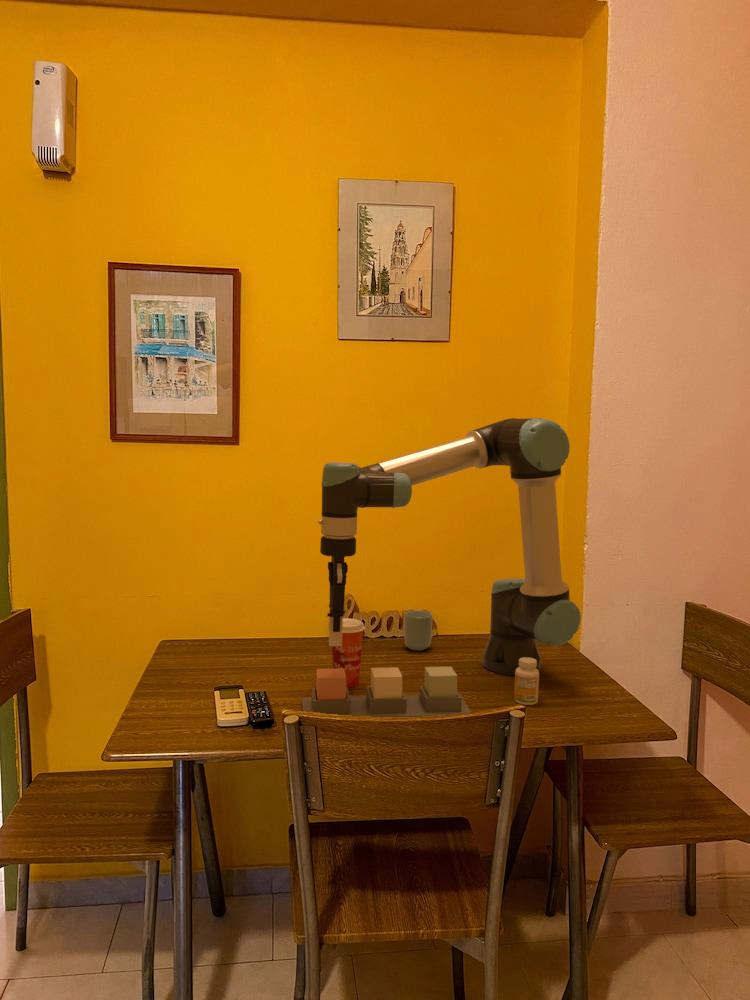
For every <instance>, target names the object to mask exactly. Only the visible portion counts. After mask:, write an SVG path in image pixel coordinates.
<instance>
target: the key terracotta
mask: <svg viewBox="0 0 750 1000" xmlns="http://www.w3.org/2000/svg"><path fill="white" fill-rule="evenodd" d="M315 686H316V687H315V688H316V693H317V700H339V699H346V674H345V670H344V668H339V669H333V668H316V685H315Z"/></svg>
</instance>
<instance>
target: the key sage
mask: <svg viewBox="0 0 750 1000" xmlns="http://www.w3.org/2000/svg"><path fill="white" fill-rule="evenodd" d="M423 686H424V690H425V691H426V693H427V695H428V697H457V691H458V674H457V673H456V671H455V670H454V669H453V667H452V666H424V681H423Z"/></svg>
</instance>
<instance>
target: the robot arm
mask: <svg viewBox="0 0 750 1000" xmlns="http://www.w3.org/2000/svg"><path fill="white" fill-rule="evenodd" d="M570 448H571V447H570V439H569V437H568V434H567V432H566V430H565V429H564V428H563V427H562V426H560V424H558V423H557V422H556V421H554V420H550V419H545V418H541V417H539V418H537V417H536V418H535V417H534V418H532V417H531V418H507V419H503V420H500V421H496V422H493V423H491V424H487V425H484V426H482V427H478V428H477V429H473V430H470V431H468V432H467V433H466V434H465V436H464V437H461V438H457V439H454V440H451V441H448V442H443V443H440V444H437V445H434V446H430V447H427V448H423V449H419V450H416V451H413V452H409V453H406V454H403V455H400V456H399V455H398V456H396V457H393V458H390V459H386V460H384V461H380V462H376V463H374V464H370V465H366V466H363V467H360V466H359V465H358V464H357V463H354V462H327V463H325V464H324V466H323V468H322V469H323V470H322V475H321V476H322V477H321V517H320V518H321V519H319V520H318V521H317V524H318V525H321V526H320V533H321V535H322V536H321V537H320V546H319V547H320V548H319V550H320V551H319V552H320V554H321V555H323V556H325V557H331V561H327V569H328V583H329V604H328V608H329V612H327V616H326V617H329V624H328V626H329V627H328V646H329V647H332V646H342V627H343V619H344V615H345V614H346V610H345V594H346V593H345V592H346V584H347V574H348V570H349V569H348V567H349V565H348V563H347V561H346V562H345V558H346V557H353V556H354V555H356V553H357V538H356V537H355V536H356V535H357V534H358V508H359V509H365V508H392V509H395V508H404V507H406V506H407V505H408V504H409V503H410V501H411V499H412V493H413V486H415V485H419V484H423V483H425V482H429V481H431V480H432V481H433V480H434V479H438V478H441V477H444V476H447V475H450V474H454V473H458V472H460V471H463V470H467V469H470V468H473V467H474V468H476V469H483V468H487V467H493V466H506V467H507V466H508V467H509V470H510V472H509V473H510V479H511V480H512V481H513V482H515V484H516V485H517V487H518V491H517V492H518V499H519V500H518V501H519V514H520V517H519V518H520V529H521V541H522V552H523V555H522V556H523V567H524V578H502V579H496V580H495V581H494V582H493V583H492V588H491V593H490V596H491V597H490V598H491V599H490V600H491V602H490V607H491V608H490V629H489V630H490V631H489V637H488V639H487V643H486V646H485V649H484V650H483V652H482V658H481V659H482V660H481V661H482V662H481V665H482V666H483V668H485V669H487V670H488V671H491V672H493V673H497V674H501V675H510V676H515V671H516V669H517V668H518V667H520V666H519V659H520V658H523V657H529V658H533V659H536V660H537V666H536V669H537V670H538V671H539V672H540V671H541V669H542V658H541V655H540V652H539V647H538V644H537V642H538V643H539V644H542V645H543V644H544V645H547V646H550V647H551V646H552V647H559V646H563V645H565V644H566V643H568V642H569V641H571V640H572V639H573V637H574V636H575V635H576V633H577V632H578V630H579V628H580V626H581V619H582V617H581V611H580V609H579V606H578V605H577V604H576V603H574V601H571V597H570V586H569V584H568V583H566V582H565V581H564V580H563V578H562V577H563V576H562V575H563V573H562V563H561V560H562V559H561V547H560V534H559V533H560V532H559V518H558V505H557V491H556V482H557V480H558V479H559V478H560V477H561V476H562V467H563V466H564V465H565V463H566V460H567V459H568V457H569V454H570Z"/></svg>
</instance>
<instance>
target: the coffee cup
mask: <svg viewBox="0 0 750 1000" xmlns="http://www.w3.org/2000/svg"><path fill="white" fill-rule="evenodd" d="M365 629H366V627H365V625H364V623H363V621H361V620H359V619H355V618H347V617H346V618H343V627H342V646H331V647H332V648H331V649H332V650H331V654H332V655H331V656H332V669H339V668H344V670H345V674H346V687H347V688H353V687H357V686H358V685H359V683H360V674H361V673H360V672H361V660H362V648H363V636H364V630H365Z"/></svg>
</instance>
